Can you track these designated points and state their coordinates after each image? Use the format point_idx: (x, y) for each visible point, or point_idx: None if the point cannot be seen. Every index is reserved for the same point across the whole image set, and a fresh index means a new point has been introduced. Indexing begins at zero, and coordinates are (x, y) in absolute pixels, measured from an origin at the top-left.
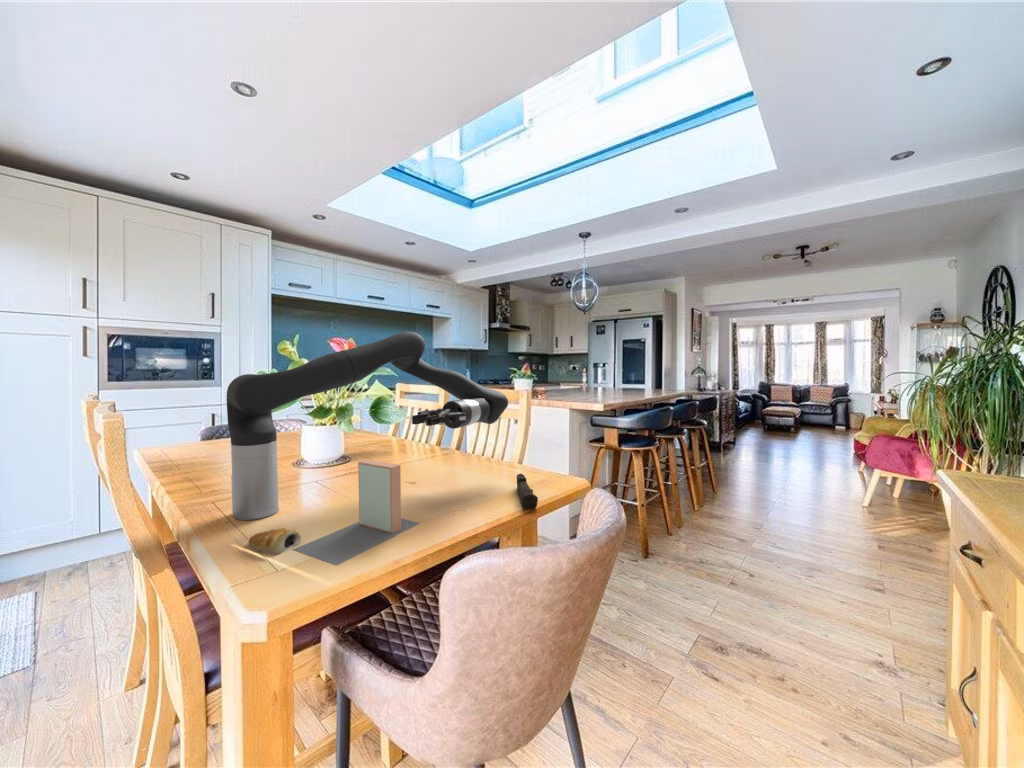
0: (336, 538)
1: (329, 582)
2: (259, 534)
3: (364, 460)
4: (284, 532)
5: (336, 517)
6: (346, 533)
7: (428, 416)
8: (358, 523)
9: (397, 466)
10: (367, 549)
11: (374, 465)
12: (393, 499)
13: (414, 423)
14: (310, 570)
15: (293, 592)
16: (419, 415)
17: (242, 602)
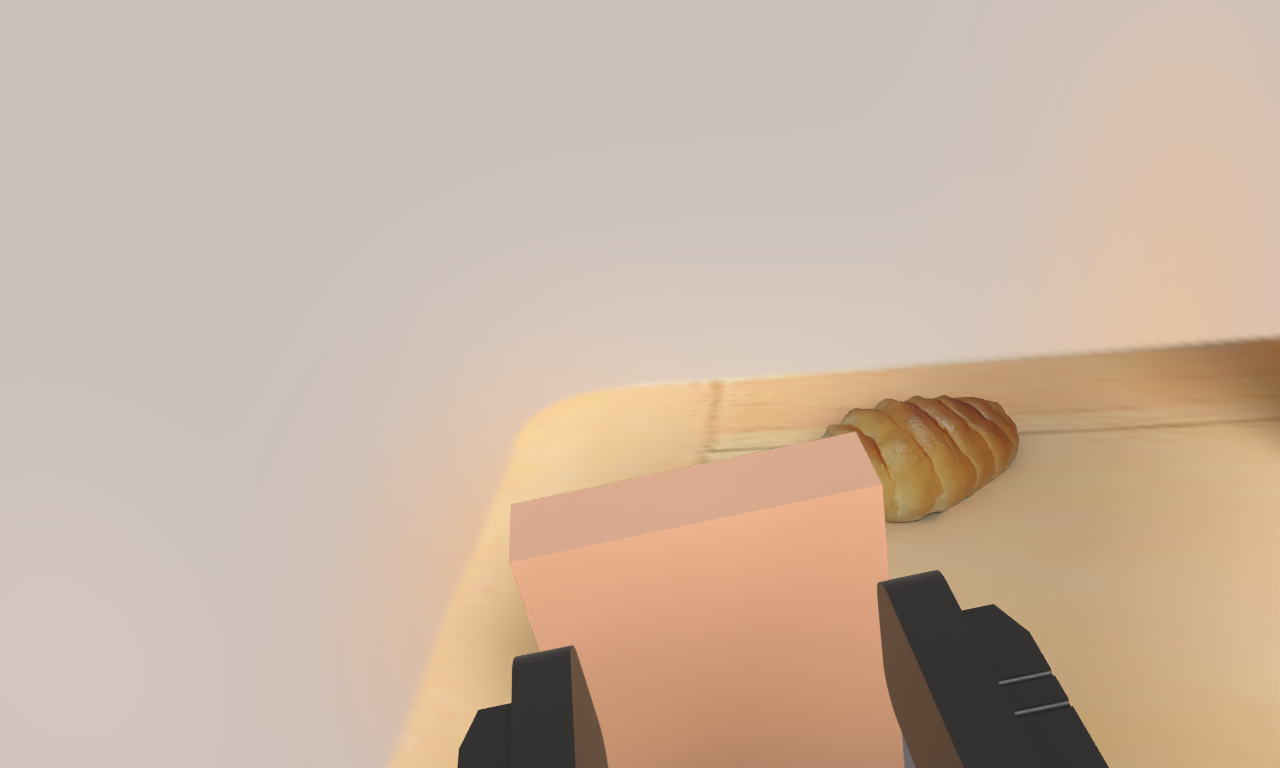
0: None
1: (503, 516)
2: (964, 405)
3: (864, 464)
4: (872, 436)
5: (1144, 730)
6: None
7: (565, 691)
8: (905, 754)
9: (512, 545)
10: None
11: (682, 471)
12: None
13: (886, 682)
14: None
15: (547, 454)
16: (931, 701)
17: (613, 388)
